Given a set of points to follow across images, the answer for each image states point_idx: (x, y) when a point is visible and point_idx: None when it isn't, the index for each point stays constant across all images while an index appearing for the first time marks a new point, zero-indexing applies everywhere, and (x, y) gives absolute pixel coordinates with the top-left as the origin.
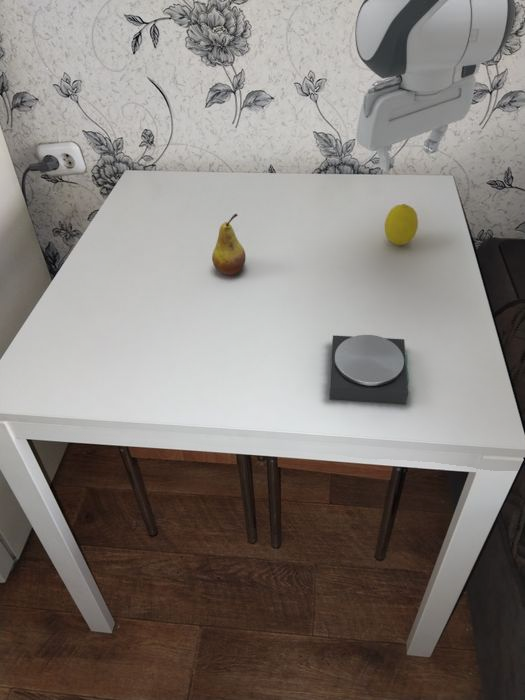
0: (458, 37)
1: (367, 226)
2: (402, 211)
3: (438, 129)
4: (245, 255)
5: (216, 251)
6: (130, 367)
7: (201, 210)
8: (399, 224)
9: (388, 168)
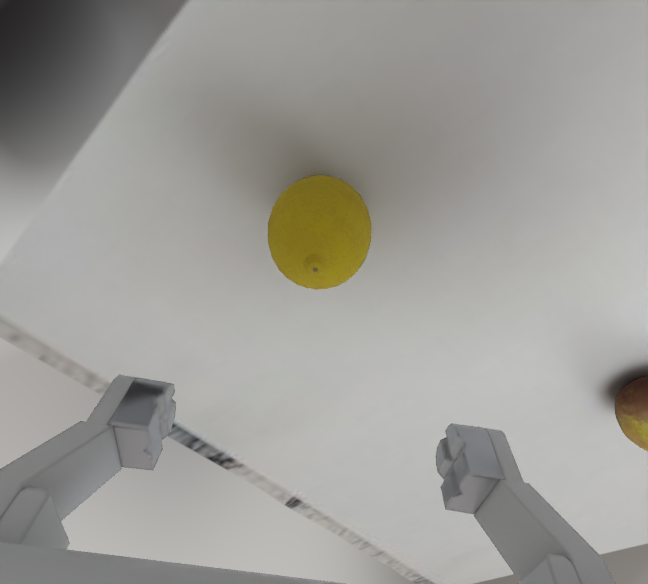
0: None
1: (311, 302)
2: (337, 253)
3: (52, 514)
4: (645, 400)
5: None
6: None
7: None
8: (364, 225)
9: (492, 435)
